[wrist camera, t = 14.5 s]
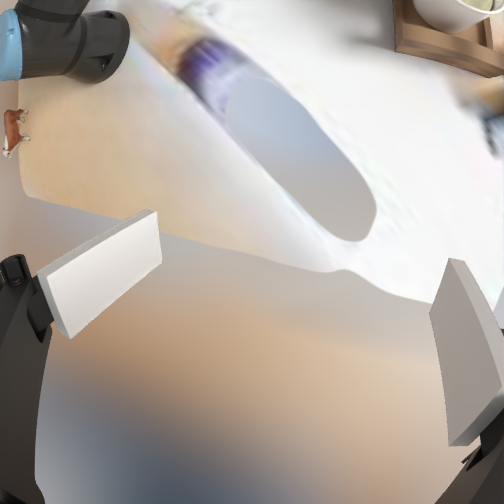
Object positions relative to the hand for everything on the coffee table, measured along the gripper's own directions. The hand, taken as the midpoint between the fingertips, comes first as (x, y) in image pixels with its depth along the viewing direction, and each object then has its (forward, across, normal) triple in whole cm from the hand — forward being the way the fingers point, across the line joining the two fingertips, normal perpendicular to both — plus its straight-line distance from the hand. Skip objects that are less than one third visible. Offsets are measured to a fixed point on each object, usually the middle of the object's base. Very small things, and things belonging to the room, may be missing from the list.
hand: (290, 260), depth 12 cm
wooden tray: (+29, +14, +25) cm, 41 cm away
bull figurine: (+29, -75, +9) cm, 81 cm away
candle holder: (+28, +14, +25) cm, 40 cm away
